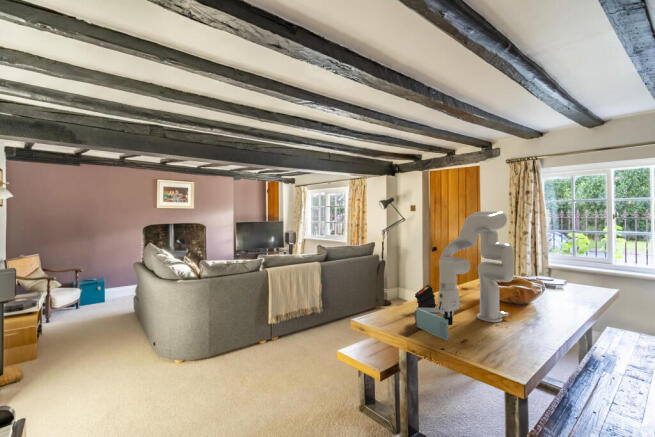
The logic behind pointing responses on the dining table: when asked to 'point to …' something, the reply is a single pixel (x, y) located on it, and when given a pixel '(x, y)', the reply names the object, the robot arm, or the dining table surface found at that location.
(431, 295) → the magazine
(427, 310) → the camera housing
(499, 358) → the dining table surface
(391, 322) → the dining table surface
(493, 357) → the dining table surface
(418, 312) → the side door
